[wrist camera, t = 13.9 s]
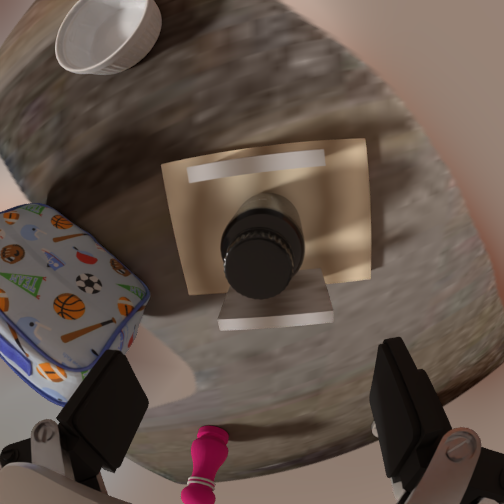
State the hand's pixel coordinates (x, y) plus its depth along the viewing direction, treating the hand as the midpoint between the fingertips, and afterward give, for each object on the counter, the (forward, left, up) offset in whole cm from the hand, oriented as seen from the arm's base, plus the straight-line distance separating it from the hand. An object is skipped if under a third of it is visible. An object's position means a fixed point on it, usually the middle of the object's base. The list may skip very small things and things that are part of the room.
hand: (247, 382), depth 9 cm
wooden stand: (0, 0, -24) cm, 24 cm away
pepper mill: (+16, +42, -24) cm, 51 cm away
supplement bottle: (0, 0, -22) cm, 22 cm away
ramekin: (+15, -27, -24) cm, 40 cm away
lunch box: (+28, +2, -24) cm, 37 cm away
